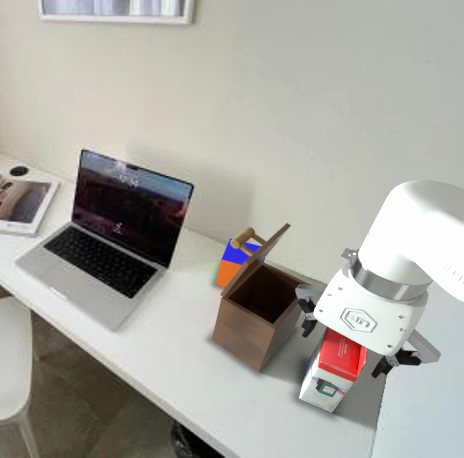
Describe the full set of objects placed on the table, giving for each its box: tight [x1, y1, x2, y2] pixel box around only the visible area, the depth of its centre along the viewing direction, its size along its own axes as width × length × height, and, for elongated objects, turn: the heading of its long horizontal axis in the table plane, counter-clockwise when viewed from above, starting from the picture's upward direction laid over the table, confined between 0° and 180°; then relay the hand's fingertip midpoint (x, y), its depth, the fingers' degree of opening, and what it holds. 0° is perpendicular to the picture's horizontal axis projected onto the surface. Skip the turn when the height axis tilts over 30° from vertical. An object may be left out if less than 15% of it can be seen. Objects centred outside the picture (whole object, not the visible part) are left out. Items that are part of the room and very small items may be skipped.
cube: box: [215, 237, 266, 288], centre depth 81 cm, size 8×8×8 cm
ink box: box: [299, 326, 368, 414], centre depth 58 cm, size 8×5×15 cm, turn 144°
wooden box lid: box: [219, 222, 292, 298], centre depth 64 cm, size 10×14×5 cm
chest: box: [211, 261, 313, 373], centre depth 68 cm, size 10×14×13 cm
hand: (340, 350), depth 56 cm, fingers open, 9 cm apart
